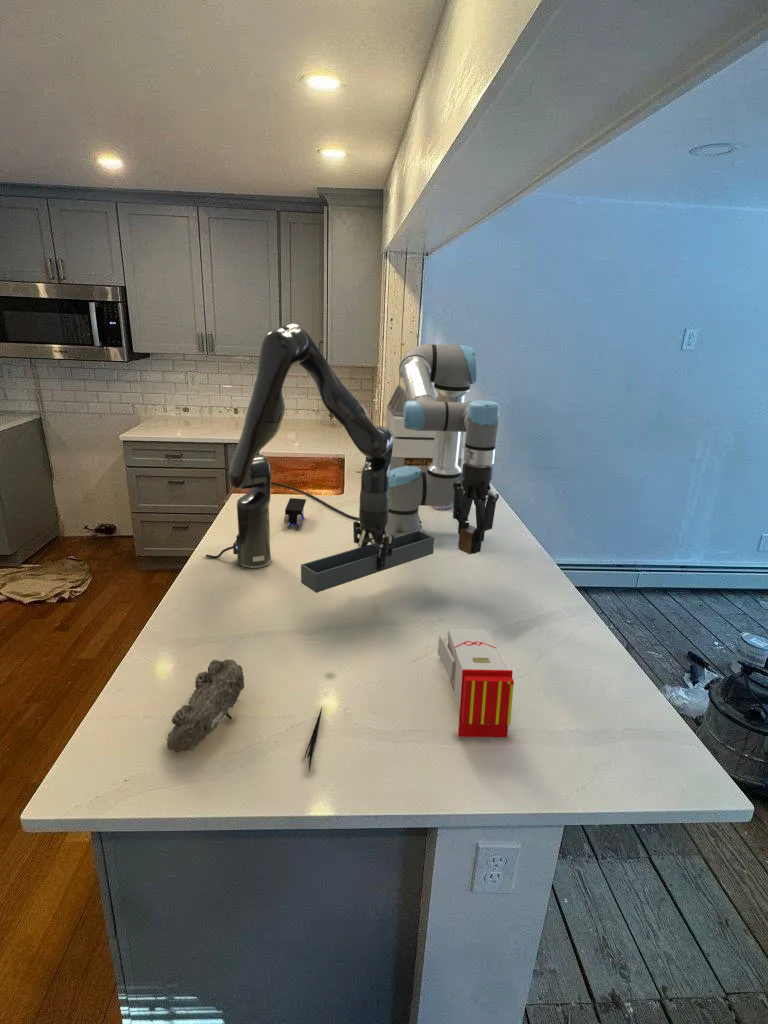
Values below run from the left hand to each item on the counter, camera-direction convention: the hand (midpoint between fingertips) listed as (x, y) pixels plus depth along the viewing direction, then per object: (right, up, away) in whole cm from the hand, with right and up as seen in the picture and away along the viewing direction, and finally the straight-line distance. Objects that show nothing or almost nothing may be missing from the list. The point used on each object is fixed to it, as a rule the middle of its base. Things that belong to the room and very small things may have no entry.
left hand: (371, 564), depth 150 cm
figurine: (+27, +16, +79) cm, 85 cm away
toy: (+21, -24, -32) cm, 45 cm away
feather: (-9, -26, -42) cm, 50 cm away
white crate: (+21, +33, +125) cm, 131 cm away
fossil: (-29, -25, -42) cm, 57 cm away
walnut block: (+26, +4, 0) cm, 26 cm away
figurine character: (-29, +10, +55) cm, 62 cm away
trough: (0, -1, 0) cm, 1 cm away
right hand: (+26, +4, 0) cm, 26 cm away
